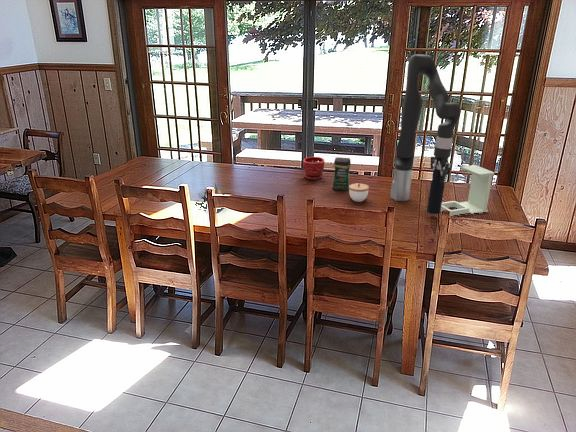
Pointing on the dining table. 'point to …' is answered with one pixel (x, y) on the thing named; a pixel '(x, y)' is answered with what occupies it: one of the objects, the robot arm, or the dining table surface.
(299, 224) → the dining table surface
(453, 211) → the sage socket stand
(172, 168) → the dining table surface
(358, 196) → the lidded jar
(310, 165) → the plant pot
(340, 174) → the coffee jar
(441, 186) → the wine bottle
